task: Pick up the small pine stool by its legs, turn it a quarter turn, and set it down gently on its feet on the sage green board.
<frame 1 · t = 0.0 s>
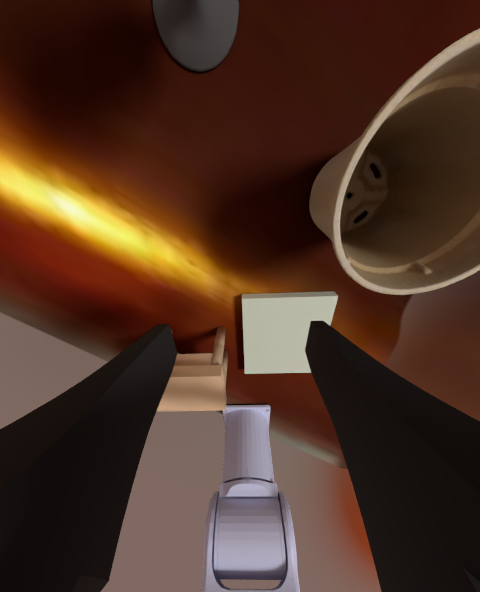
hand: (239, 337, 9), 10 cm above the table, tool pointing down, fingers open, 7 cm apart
sundae: (196, 10, 10), on the table
board: (283, 334, 22), on the table
flower pot: (344, 196, 15), on the table
stool: (197, 342, 23), on the table
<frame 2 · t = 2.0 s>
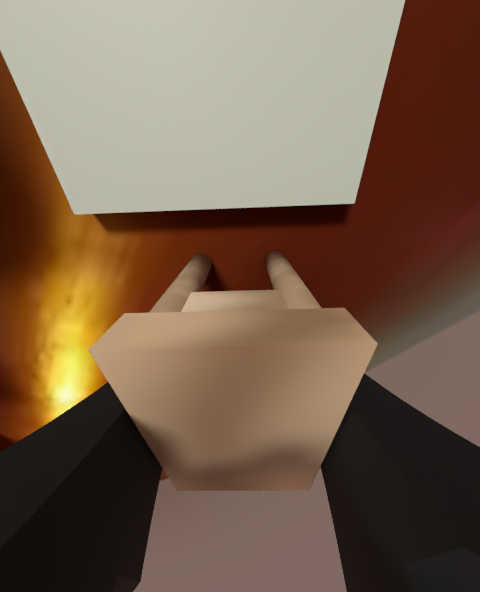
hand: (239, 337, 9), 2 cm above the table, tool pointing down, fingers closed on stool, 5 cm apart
board: (199, 42, 6), on the table
stool: (240, 311, 11), on the table, touching gripper
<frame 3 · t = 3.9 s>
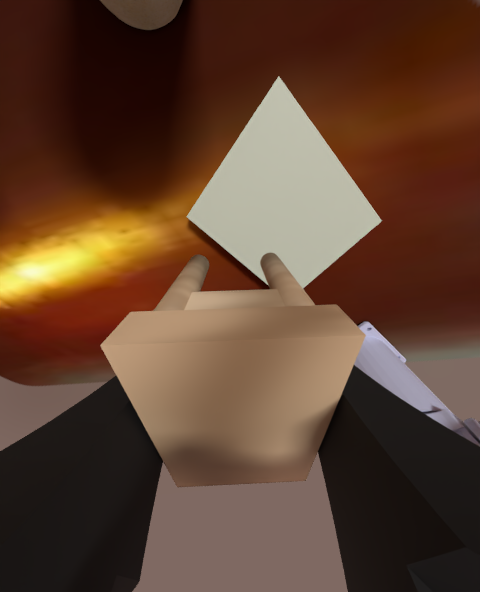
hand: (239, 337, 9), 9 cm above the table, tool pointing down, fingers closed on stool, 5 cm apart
board: (281, 217, 15), on the table
stool: (236, 311, 12), point 7 cm above the table, touching gripper
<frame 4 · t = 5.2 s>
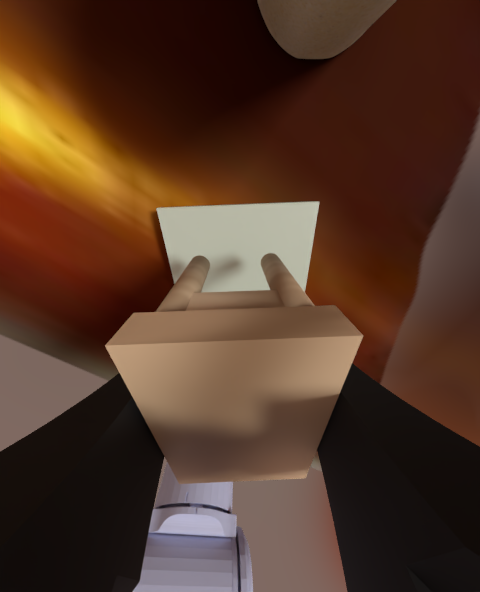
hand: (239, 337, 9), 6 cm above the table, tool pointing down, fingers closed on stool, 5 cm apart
board: (240, 285, 15), on the table
stool: (237, 311, 12), point 3 cm above the table, touching gripper
when the fingers open (5 cm above the table, at t = 6.0 s): stool drops 1 cm, resting on board.
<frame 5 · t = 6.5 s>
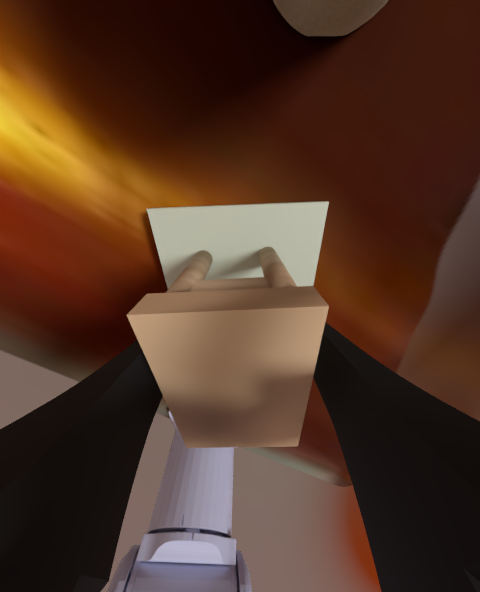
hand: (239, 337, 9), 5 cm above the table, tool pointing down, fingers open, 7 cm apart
board: (240, 292, 14), on the table
stool: (238, 302, 13), point 1 cm above the table, touching board
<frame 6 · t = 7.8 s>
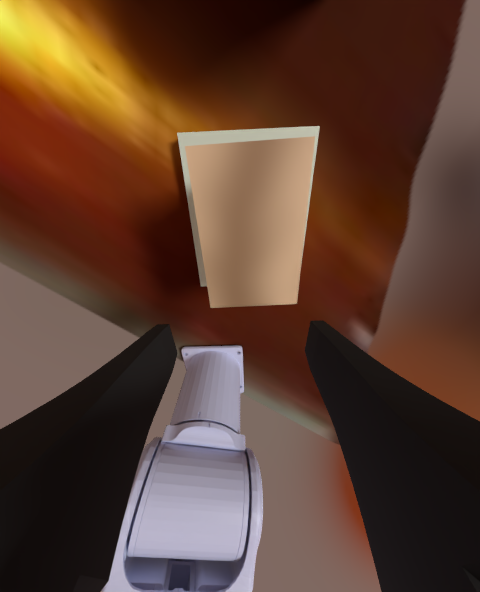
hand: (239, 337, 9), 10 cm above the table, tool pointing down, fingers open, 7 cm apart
board: (248, 220, 16), on the table
stool: (247, 224, 15), point 1 cm above the table, touching board
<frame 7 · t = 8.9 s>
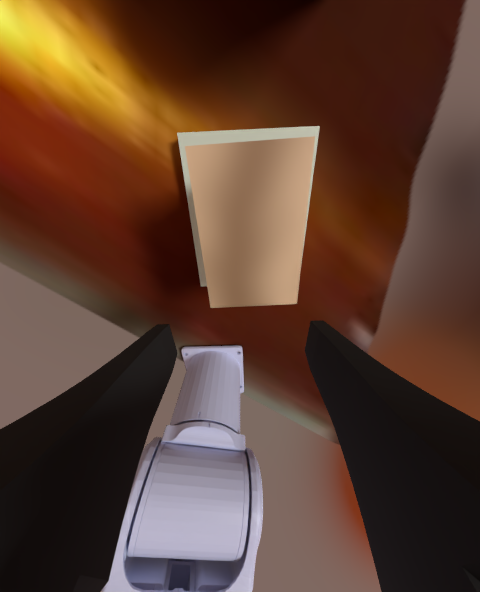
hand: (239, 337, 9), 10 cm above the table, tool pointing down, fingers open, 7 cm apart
board: (248, 220, 16), on the table
stool: (247, 224, 15), point 1 cm above the table, touching board
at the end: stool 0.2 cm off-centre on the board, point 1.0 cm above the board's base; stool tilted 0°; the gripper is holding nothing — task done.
